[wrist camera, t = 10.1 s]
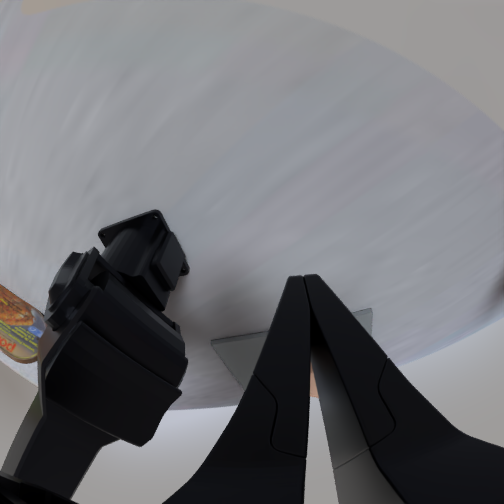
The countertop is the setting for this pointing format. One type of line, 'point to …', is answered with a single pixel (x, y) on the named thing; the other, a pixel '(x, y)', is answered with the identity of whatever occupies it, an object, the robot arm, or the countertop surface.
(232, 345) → the mat
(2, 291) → the tin
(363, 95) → the countertop surface
